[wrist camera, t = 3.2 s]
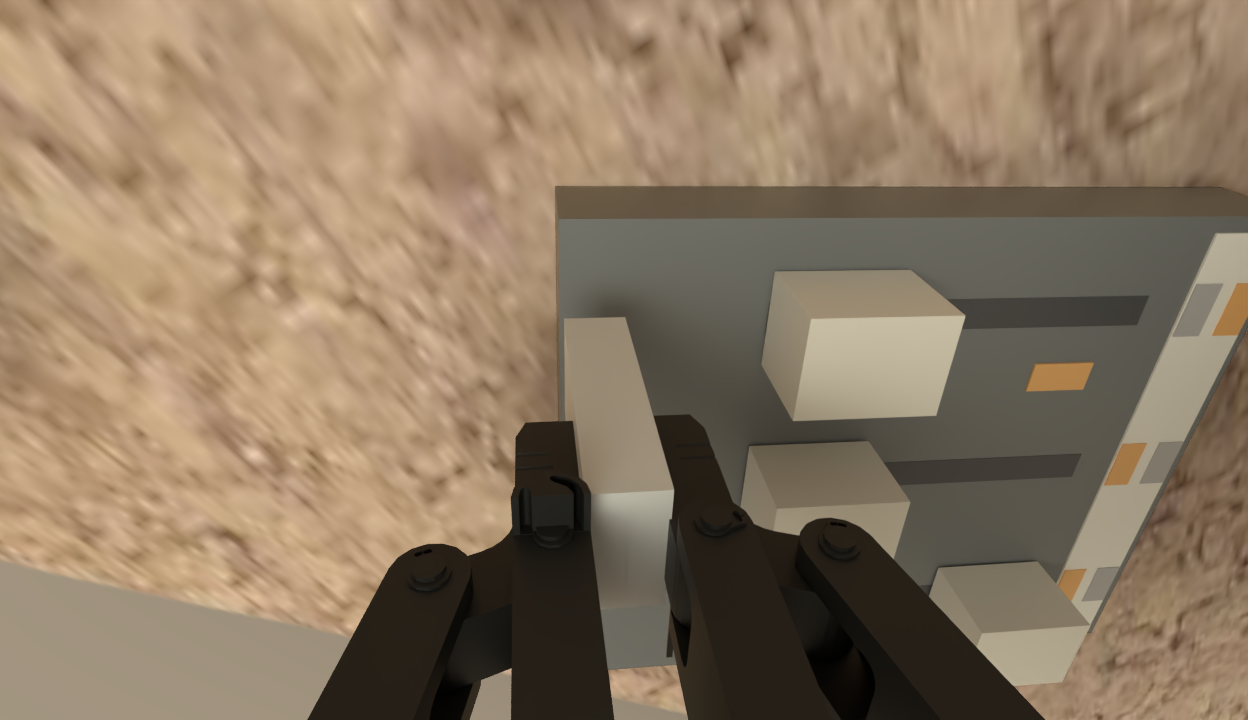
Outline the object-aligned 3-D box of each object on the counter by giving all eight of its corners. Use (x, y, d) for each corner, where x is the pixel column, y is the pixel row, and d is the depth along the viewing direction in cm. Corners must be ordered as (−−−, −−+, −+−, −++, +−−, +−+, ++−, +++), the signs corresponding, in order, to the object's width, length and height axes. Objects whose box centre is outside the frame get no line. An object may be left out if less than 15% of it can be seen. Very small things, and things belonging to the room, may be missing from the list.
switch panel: (1220, 187, 24) (1308, 217, 21) (1046, 578, 33) (1092, 635, 30) (554, 186, 21) (558, 220, 19) (560, 611, 30) (563, 675, 27)
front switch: (910, 269, 21) (965, 315, 18) (888, 360, 22) (935, 415, 19) (774, 271, 20) (811, 318, 17) (761, 364, 22) (792, 421, 19)
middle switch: (868, 441, 23) (910, 501, 21) (851, 511, 25) (888, 576, 22) (749, 445, 23) (777, 508, 20) (738, 517, 24) (763, 584, 22)
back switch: (1037, 561, 27) (1090, 625, 25) (1014, 616, 29) (1061, 682, 26) (938, 567, 27) (981, 633, 24) (919, 623, 28) (958, 690, 26)
